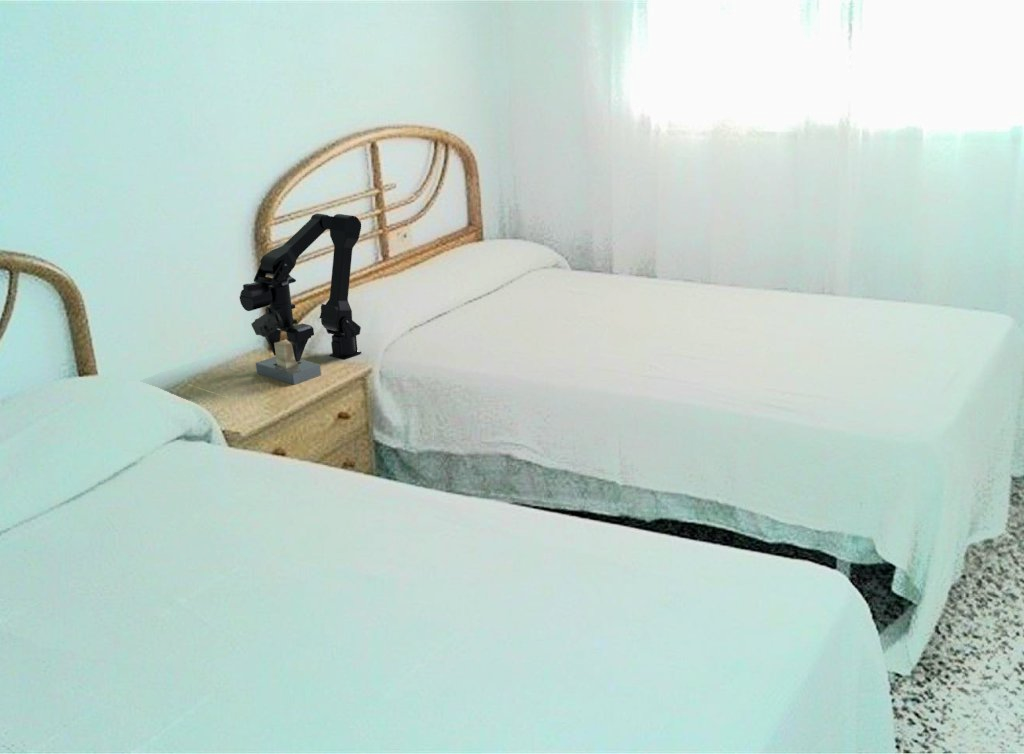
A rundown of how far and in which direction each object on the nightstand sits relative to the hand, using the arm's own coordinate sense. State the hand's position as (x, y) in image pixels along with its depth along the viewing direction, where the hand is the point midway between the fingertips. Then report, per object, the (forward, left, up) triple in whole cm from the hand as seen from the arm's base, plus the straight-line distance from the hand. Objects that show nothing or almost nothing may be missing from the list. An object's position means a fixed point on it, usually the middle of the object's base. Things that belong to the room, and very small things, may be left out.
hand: (287, 358), depth 277 cm
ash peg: (0, 0, -4) cm, 5 cm away
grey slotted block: (0, 0, -4) cm, 4 cm away
